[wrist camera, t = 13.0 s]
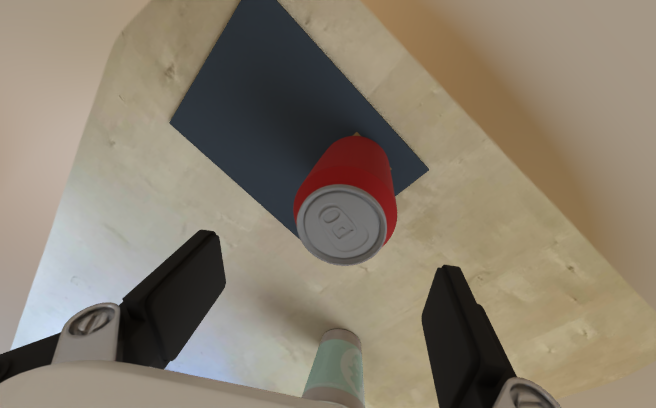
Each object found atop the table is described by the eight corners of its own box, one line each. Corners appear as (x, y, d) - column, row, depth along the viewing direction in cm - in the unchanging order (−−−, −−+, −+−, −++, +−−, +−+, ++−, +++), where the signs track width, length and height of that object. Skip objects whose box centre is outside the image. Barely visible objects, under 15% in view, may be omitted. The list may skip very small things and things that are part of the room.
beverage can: (348, 209, 28) (331, 289, 17) (308, 161, 26) (262, 215, 16) (403, 175, 25) (423, 243, 14) (362, 118, 24) (351, 148, 13)
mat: (171, 122, 27) (168, 123, 27) (256, -22, 21) (254, -24, 20) (319, 254, 32) (318, 256, 31) (428, 168, 25) (429, 170, 25)
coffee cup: (370, 364, 39) (368, 471, 28) (315, 358, 40) (294, 457, 30) (370, 324, 35) (368, 429, 25) (310, 319, 37) (283, 416, 26)
